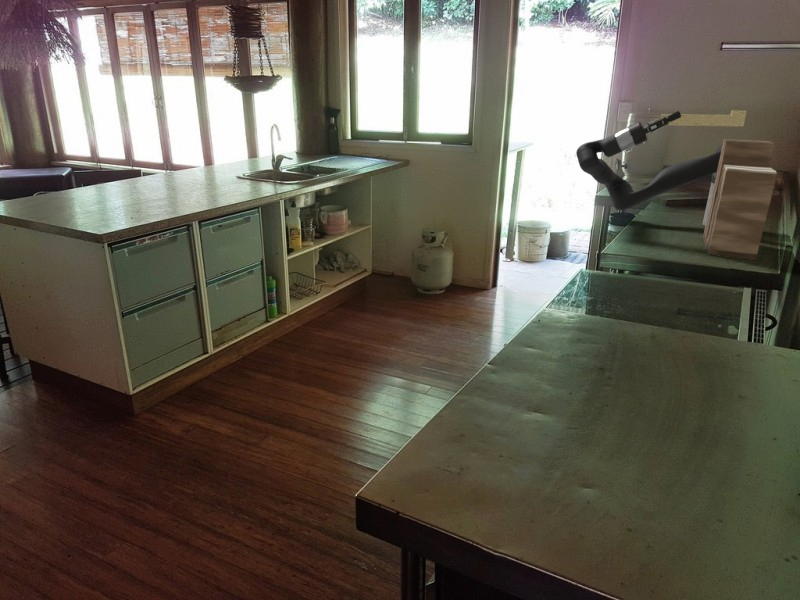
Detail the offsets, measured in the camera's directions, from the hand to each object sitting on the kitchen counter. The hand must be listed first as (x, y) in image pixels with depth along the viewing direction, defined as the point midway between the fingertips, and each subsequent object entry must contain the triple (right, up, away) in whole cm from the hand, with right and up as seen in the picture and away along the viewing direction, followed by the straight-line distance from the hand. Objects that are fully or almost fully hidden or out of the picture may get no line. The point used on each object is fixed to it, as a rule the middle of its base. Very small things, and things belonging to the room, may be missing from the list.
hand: (679, 113), depth 200 cm
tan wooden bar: (+6, -4, -1) cm, 8 cm away
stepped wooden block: (+17, -47, +1) cm, 50 cm away
